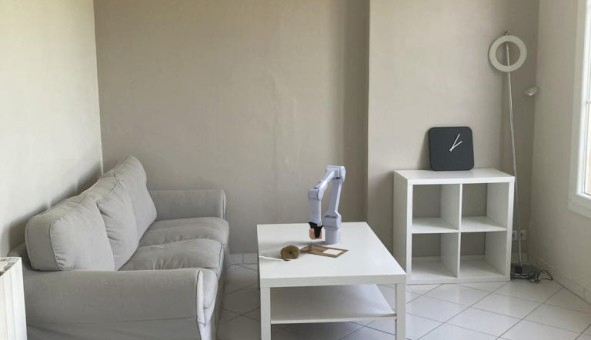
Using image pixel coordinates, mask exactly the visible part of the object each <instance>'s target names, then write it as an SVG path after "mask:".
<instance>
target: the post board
mask: <svg viewBox="0 0 591 340" xmlns="http://www.w3.org/2000/svg"><path fill="white" fill-rule="evenodd" d="M307 244H308V245H306V246H303V247H302V248H299V250H300V254H308V255H315V256H321V257H326V258H327V257H328V258H333V259H337V258H339V257H340V256H342V255H343V254H345V253H347V252H349V251H350V249H345V248H337V247H330V246H323V245H316V244H313V243H312V242H311V243H307ZM328 249H333V250H340V251H343V252H341V253H339V254H337V255H330V254H324V253H323V252H324V251H326V250H328Z"/></svg>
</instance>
